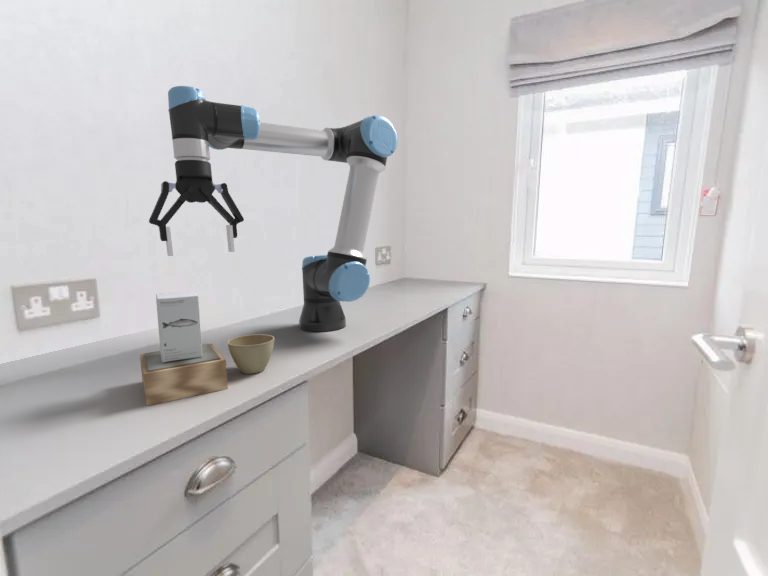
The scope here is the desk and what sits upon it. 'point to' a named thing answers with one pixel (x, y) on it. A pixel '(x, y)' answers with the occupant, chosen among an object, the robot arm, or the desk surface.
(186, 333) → the supplement box
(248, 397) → the desk surface
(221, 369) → the wooden box
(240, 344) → the flower pot
